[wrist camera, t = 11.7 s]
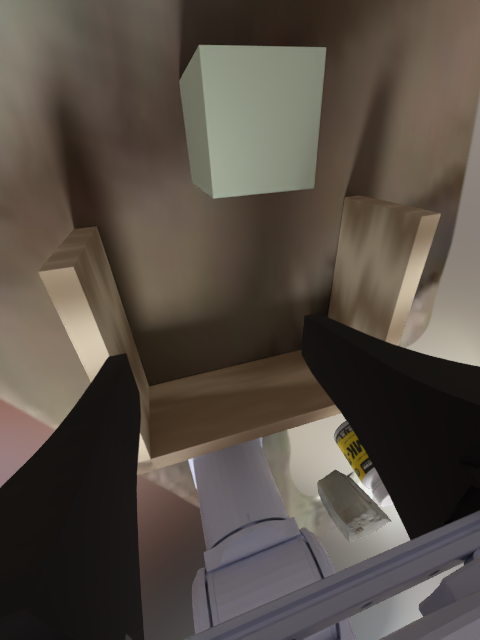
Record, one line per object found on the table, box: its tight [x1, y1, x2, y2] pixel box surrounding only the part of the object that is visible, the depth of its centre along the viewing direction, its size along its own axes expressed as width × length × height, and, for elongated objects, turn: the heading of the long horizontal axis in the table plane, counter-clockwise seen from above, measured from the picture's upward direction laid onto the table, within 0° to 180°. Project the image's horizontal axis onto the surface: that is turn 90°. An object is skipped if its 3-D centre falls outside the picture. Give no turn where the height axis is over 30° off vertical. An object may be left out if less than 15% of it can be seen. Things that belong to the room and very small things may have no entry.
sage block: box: [179, 45, 326, 199], centre depth 13 cm, size 4×4×6 cm
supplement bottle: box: [334, 421, 394, 507], centre depth 32 cm, size 5×5×8 cm
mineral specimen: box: [317, 470, 391, 542], centre depth 38 cm, size 7×9×8 cm
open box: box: [38, 195, 441, 475], centre depth 19 cm, size 14×18×6 cm
